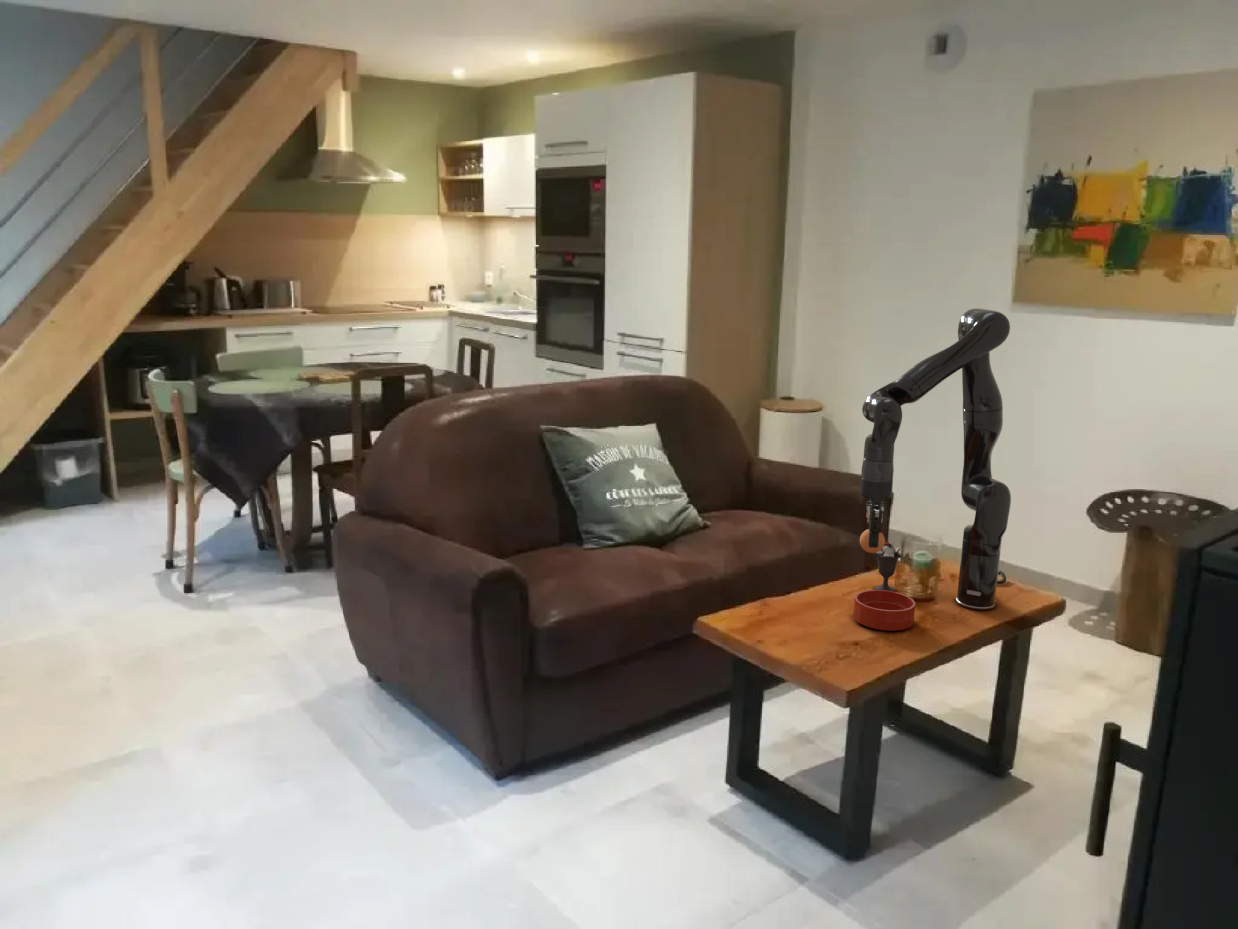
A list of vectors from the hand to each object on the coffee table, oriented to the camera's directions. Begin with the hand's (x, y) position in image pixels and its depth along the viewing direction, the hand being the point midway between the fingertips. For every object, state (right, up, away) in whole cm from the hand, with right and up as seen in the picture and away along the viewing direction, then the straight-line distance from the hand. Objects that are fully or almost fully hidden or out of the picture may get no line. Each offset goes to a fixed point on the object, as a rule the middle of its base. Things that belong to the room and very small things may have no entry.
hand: (872, 542), depth 239 cm
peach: (0, -2, +1) cm, 2 cm away
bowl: (+2, -19, -2) cm, 19 cm away
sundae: (+8, -14, +19) cm, 26 cm away
